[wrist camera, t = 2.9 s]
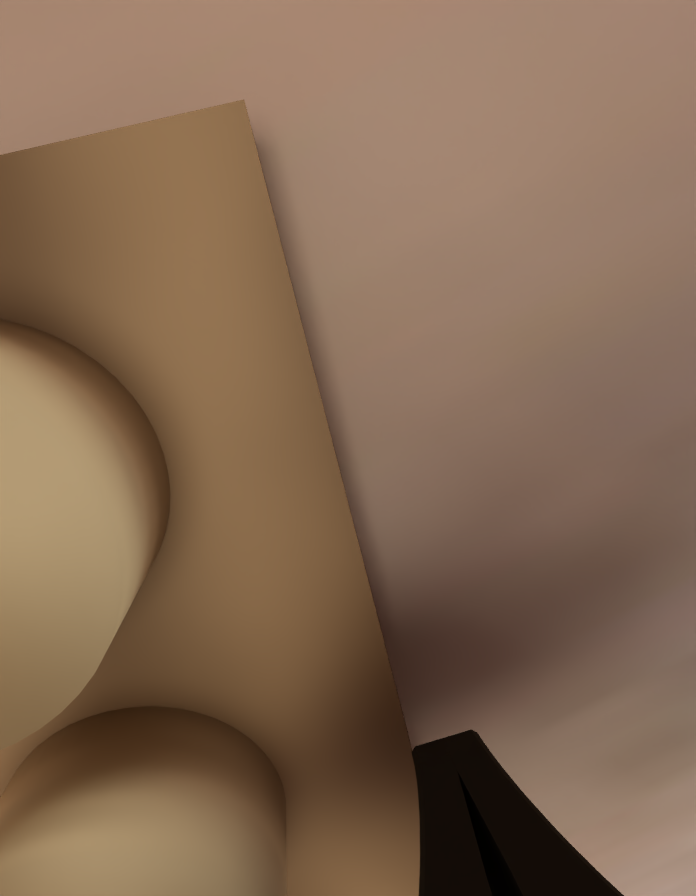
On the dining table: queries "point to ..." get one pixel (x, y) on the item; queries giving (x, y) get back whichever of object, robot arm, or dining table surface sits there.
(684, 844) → the dining table surface
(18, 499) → the coaster
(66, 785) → the coaster
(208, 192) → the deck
